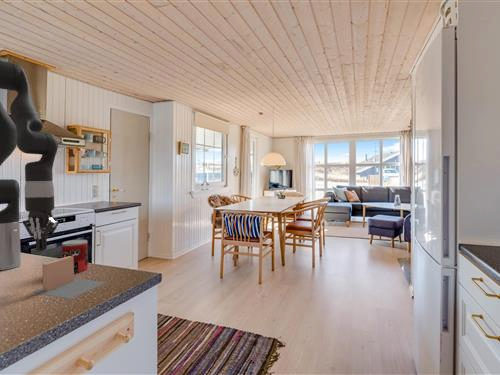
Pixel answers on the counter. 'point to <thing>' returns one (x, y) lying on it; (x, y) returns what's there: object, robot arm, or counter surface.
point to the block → (58, 273)
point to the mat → (71, 288)
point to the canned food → (76, 253)
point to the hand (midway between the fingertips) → (41, 250)
